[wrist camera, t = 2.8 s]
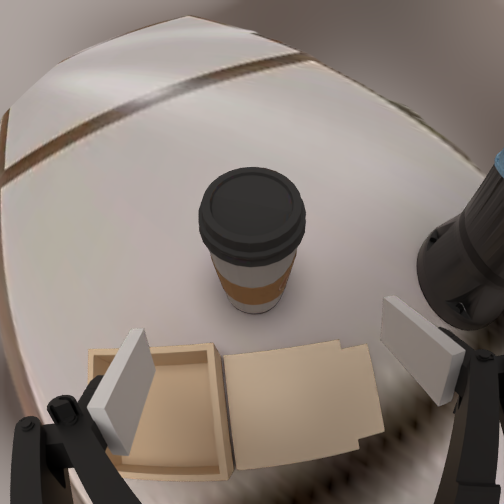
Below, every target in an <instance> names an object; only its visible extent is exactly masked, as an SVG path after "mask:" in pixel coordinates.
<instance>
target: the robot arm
mask: <svg viewBox="0 0 504 504" xmlns="http://www.w3.org/2000/svg"><path fill="white" fill-rule="evenodd" d="M417 272H418V278H419V282H420V285H421V288H422V291H423V293H424V295H425V297H426V299H427V301H428V302H429V304H430V305H431V307H432V308H433V309H434V311H435V312H436V313H437V314H438V315H439V316H440V317H441V318H442V319H443V320H445V321H446V322H448V323H449V324H451V325H452V326H454V327H457V328H459V329H463V330H477V329H480V328H483V327H484V326H486V325H488V324H489V323H491V322H492V321H494V320H495V319H496V318H497V317H498V316H499V315H500V314H501V313H502V311H503V310H504V148H503V150H502V151H501V152H499V153H498V154H497V156H496V158H495V164H494V165H493V167H492V168H491V170H490V172H489V173H488V175H487V176H486V178H485V179H484V181H483V183H482V184H481V185H480V187H479V188H478V190H477V191H476V193H475V194H474V196H473V197H472V199H471V200H470V201H469V203H468V204H467V206H466V207H465V209H464V210H463V211H462V213H461V214H459V215H457V216H456V217H454V218H452V219H451V220H449V221H447V222H445V223H444V224H442V225H440V226H439V227H437V228H436V229H434V230H433V231H432V232H431V233H430V235H429V236H428V237H427V239H426V240H425V242H424V243H423V244H422V246H421V248H420V251H419V254H418V259H417ZM380 340H381V341H382V342H383V343H384V344H385V346H386V347H387V348H388V349H389V350H390V351H391V352H392V353H393V355H394V356H395V357H396V358H397V359H398V360H399V361H400V363H401V364H402V365H403V366H404V367H405V368H406V369H407V371H408V372H409V373H410V374H411V375H412V376H413V377H414V379H415V380H416V381H417V382H418V383H419V384H420V386H421V387H422V388H423V389H424V390H425V391H426V393H427V394H428V395H429V396H430V397H431V398H432V400H433V401H434V402H435V403H436V404H437V405H438V407H439V406H441V405H443V404H446V403H448V402H450V401H451V400H452V397H453V394H454V391H456V392H457V393H458V394H459V397H458V400H457V403H456V406H455V409H454V411H453V413H454V414H455V419H454V425H453V430H452V435H451V440H450V445H449V450H448V454H447V459H446V463H445V467H444V471H443V474H442V478H441V482H440V485H439V489H438V492H437V495H436V498H435V501H434V504H499V500H500V494H501V487H500V485H496V484H495V479H496V471H497V461H498V447H499V420H500V423H501V427H502V431H503V434H504V355H501V356H495V354H493V353H492V352H490V351H488V350H484V349H482V350H476V351H475V350H474V349H472V348H471V347H470V346H468V345H467V344H466V343H465V342H463V341H462V340H460V339H459V338H458V337H457V336H455V335H454V334H453V333H452V332H450V331H449V330H447V329H444V328H442V327H438V328H437V327H436V326H435V325H433V324H432V323H431V322H429V321H428V320H427V319H426V318H424V317H423V316H422V315H420V314H419V313H418V312H416V311H415V310H414V309H413V308H411V307H410V306H409V305H407V304H406V303H405V302H403V301H402V300H401V299H399V298H398V297H397V296H395V295H392V296H387V297H383V311H382V325H381V337H380ZM155 372H156V369H155V366H154V362H153V359H152V355H151V352H150V348H149V345H148V341H147V337H146V334H145V330H144V328H139V329H131V330H130V332H129V333H128V335H127V337H126V338H125V340H124V342H123V343H122V345H121V347H120V349H119V350H118V352H117V354H116V356H115V357H114V359H113V361H112V362H111V364H110V366H109V368H108V370H107V371H106V373H105V375H97V376H96V377H95V378H93V379H92V380H91V381H90V382H89V384H88V386H87V387H86V389H85V391H84V393H83V395H82V396H81V398H80V399H79V401H78V403H77V401H76V399H75V398H74V397H73V396H70V395H62V396H58V397H56V398H54V399H52V400H51V401H50V402H49V404H48V406H47V411H48V413H49V414H50V416H51V418H52V420H53V421H54V423H55V424H46V425H42V423H41V422H40V420H39V419H38V418H37V417H34V416H28V417H24V418H22V419H21V420H19V422H18V423H17V424H16V427H15V432H14V440H13V451H12V463H11V485H10V486H11V487H10V504H73V498H72V492H71V486H70V480H69V473H68V468H75V470H76V472H77V474H78V476H79V478H80V480H81V482H82V484H83V486H84V488H85V490H86V492H87V494H88V495H89V497H90V499H91V501H92V502H93V504H142V503H141V502H140V501H139V499H138V498H137V497H136V496H135V494H134V493H133V492H132V490H131V489H130V488H129V486H128V485H127V483H126V482H125V481H124V479H123V478H122V476H121V475H120V474H119V472H118V471H117V469H116V468H115V466H114V465H113V463H112V462H111V460H110V459H109V457H108V456H107V454H106V453H105V451H106V448H107V446H108V448H109V450H110V451H111V453H112V455H121V456H129V454H130V450H131V447H132V444H133V440H134V437H135V434H136V431H137V427H138V424H139V421H140V418H141V414H142V411H143V408H144V405H145V402H146V399H147V396H148V393H149V390H150V387H151V384H152V381H153V378H154V375H155Z"/></svg>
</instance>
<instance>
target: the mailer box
mask: <svg viewBox="0 0 504 504" xmlns="http://www.w3.org/2000/svg"><path fill="white" fill-rule="evenodd" d="M149 348H150V352H151V355H152V359H153V362H154V366H155V369H156V372H155V375H154V378H153V381H152V384H151V387H150V390H149V393H148V396H147V399H146V402H145V405H144V408H143V411H142V414H141V418H140V421H139V424H138V427H137V431H136V434H135V437H134V440H133V444H132V447H131V450H130V454H129V456H121V455H112V453H111V451H110V450H109V448H108V446H107V448H106V451H105V453H106V454H107V456H108V457H109V459H110V460H111V462H112V463H113V465H114V466H115V468H116V469H117V471H118V472H119V474H120V475H121V476H122V478H131V479H142V480H157V481H223V480H229V478H230V476H231V475H232V473H233V471H234V465H233V458H232V450H231V442H230V434H229V426H228V418H227V409H226V400H225V391H224V381H223V371H222V361H221V356H220V354H219V352H218V351H217V349H216V347H215V345H214V343H205V344H193V345H179V346H164V347H149ZM119 349H120V348H119ZM119 349H89V351H88V384H89V382H90V381H91V380H92V379H93V378H95V377H96V376H97V375H105V373H106V371H107V370H108V368H109V366H110V364H111V362H112V361H113V359H114V357H115V356H116V354H117V352H118V350H119ZM223 357H224V367H225V377H226V386H227V396H228V405H229V413H230V422H231V430H232V438H233V446H234V454H235V461H236V469H237V470H246V469H256V468H265V467H273V466H280V465H286V464H293V463H299V462H304V461H309V460H315V459H319V458H324V457H329V456H333V455H337V454H342V453H346V452H349V451H353V450H357V449H359V443H358V439H361V438H364V437H368V436H371V435H375V434H378V433H381V432H384V431H385V430H384V424H383V419H382V413H381V407H380V402H379V397H378V392H377V387H376V382H375V377H374V372H373V367H372V363H371V358H370V354H369V350H368V345H367V344H363V345H358V346H353V347H349V348H344V349H341V345H340V341H339V339H338V340H332V341H327V342H321V343H315V344H309V345H303V346H296V347H290V348H283V349H276V350H268V351H260V352H252V353H244V354H234V355H225V356H223Z"/></svg>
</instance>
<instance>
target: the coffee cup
mask: <svg viewBox="0 0 504 504" xmlns="http://www.w3.org/2000/svg"><path fill="white" fill-rule="evenodd" d="M305 217H306V211H305V207H304V203H303V200H302V199H301V197H300V193H299V191H298V190H297V188H296V186H295V185H294V184H293V183H292V182H291V181H290V180H289V179H288V178H287V177H285V176H284V175H282V174H280V173H278V172H276V171H273V170H270V169H266V168H259V167H246V168H239V169H235V170H232V171H229V172H227V173H225V174H223V175H221V176H219V177H218V178H217V179H216V180H214V181H213V182H212V183H211V184H210V185H209V187H208V188H207V190H206V191H205V193H204V196H203V199H202V202H201V205H200V208H199V232H200V234H201V237H202V240H203V243H204V244H205V245H206V247H207V248H208V249H209V251H210V254H211V258H212V261H213V264H214V267H215V269H216V272H217V274H218V277H219V279H220V281H221V284H222V286H223V289H224V290H225V292H226V294H227V297H228V299H229V301H230V302H231V303H232V305H234V306H235V307H236V308H237V309H239V310H241V311H243V312H246V313H253V314H255V313H262V312H265V311H268V310H270V309H271V308H272V307H274V306H275V305H276V304H277V303H278V301H279V300H280V298H281V295H282V293H283V291H284V288H285V286H286V284H287V281H288V278H289V275H290V272H291V269H292V266H293V263H294V260H295V257H296V252H297V247H298V245H299V244H300V243H301V240H302V238H303V236H304V233H305V224H306V220H305Z"/></svg>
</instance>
